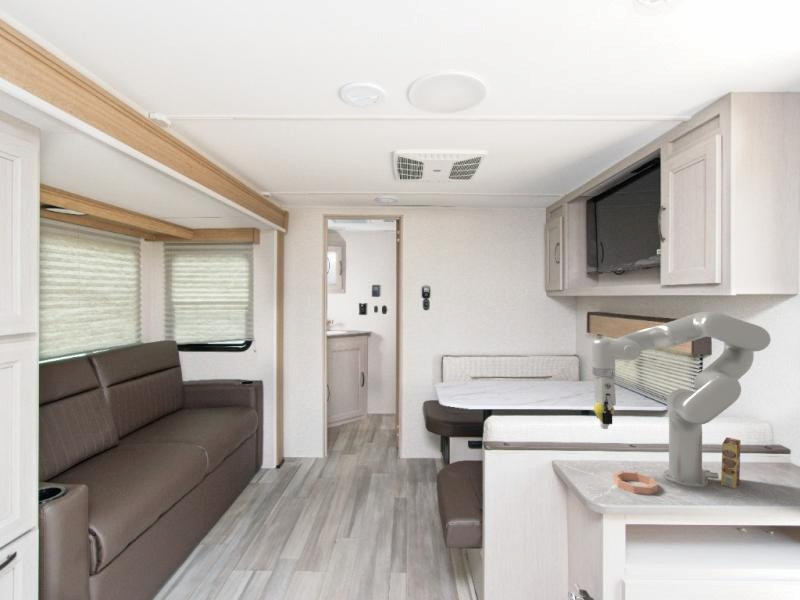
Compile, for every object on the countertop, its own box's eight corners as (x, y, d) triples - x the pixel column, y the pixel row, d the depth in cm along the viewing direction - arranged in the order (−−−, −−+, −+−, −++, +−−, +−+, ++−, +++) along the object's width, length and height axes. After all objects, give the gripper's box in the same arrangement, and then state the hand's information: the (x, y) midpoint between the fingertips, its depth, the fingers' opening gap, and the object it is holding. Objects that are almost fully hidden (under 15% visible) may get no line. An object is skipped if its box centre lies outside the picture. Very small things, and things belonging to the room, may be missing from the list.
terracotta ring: (647, 481, 141) (647, 473, 141) (662, 498, 129) (662, 489, 129) (610, 478, 143) (610, 470, 143) (621, 494, 132) (621, 485, 132)
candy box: (737, 491, 134) (737, 445, 134) (720, 487, 137) (720, 442, 137) (740, 483, 140) (740, 439, 140) (725, 479, 143) (725, 436, 143)
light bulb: (610, 425, 151) (610, 399, 151) (617, 431, 145) (617, 403, 145) (591, 424, 152) (591, 398, 152) (597, 430, 146) (597, 402, 146)
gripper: (622, 377, 139) (623, 428, 139) (607, 368, 156) (608, 414, 156) (599, 376, 141) (599, 427, 141) (586, 368, 158) (587, 413, 158)
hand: (604, 420), depth 148 cm, fingers closed on light bulb, 6 cm apart
